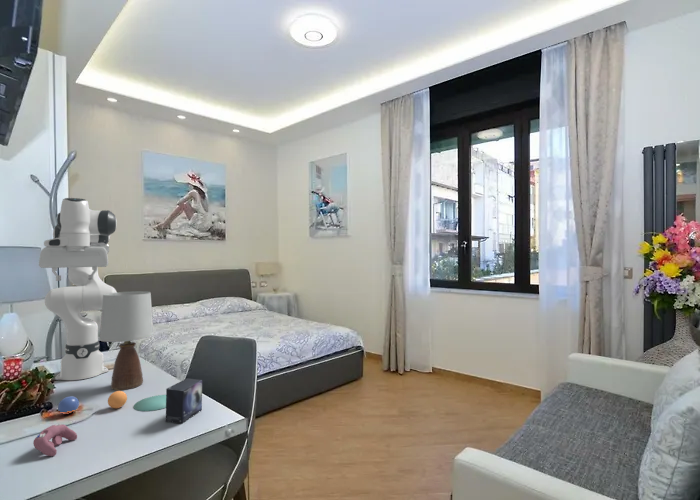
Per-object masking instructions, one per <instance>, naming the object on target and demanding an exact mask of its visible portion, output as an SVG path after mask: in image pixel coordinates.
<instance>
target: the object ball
mask: <svg viewBox="0 0 700 500" xmlns="http://www.w3.org/2000/svg"><path fill="white" fill-rule="evenodd" d="M127 400H128V395H127V393H125V391H124V390H123V391H122V390H115V391H114V392H112V393H111V394H110V395H109V396H108V398H107V403H108V406H109V407H110V408H112V409H120V408H121V407H123V406H124V405H125V404H126V403H127Z"/></svg>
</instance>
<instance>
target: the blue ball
mask: <svg viewBox="0 0 700 500" xmlns="http://www.w3.org/2000/svg"><path fill="white" fill-rule="evenodd" d="M79 406H80V401H79V399H78V398H77V397H76V396H73V395H71V396H65V397H64V398H62V399H61V400H59V403H58V405H57V410H58V412H59V411H60V412H67V411H72V410H76V409H79ZM76 411H77V410H76ZM60 412H59V413H60Z"/></svg>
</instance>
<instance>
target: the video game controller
mask: <svg viewBox="0 0 700 500" xmlns="http://www.w3.org/2000/svg"><path fill="white" fill-rule="evenodd" d="M63 438H64V439H66V440H68V441H75V440H77V439H78V434H77V432H76V431H74V430H73V429H71V428H70V427H68V426H67V425H66V424H64V423H61V422H59V423H56V424H54V425H53V424H52V425H50V426H48V427H46V428H44V429H43V430H42V431H41V432H39V434H38V435H37V436H36V437H35V438H34V439H33V447H34V448H35V449H36V450H38V451H39V452H40V453H42V454H43V455H46V456H47V457H55V456H56V455H57V449H56V447H58V446H60V445H61V444H62V443H63Z"/></svg>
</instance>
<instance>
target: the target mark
mask: <svg viewBox="0 0 700 500" xmlns="http://www.w3.org/2000/svg"><path fill="white" fill-rule="evenodd" d="M133 409H134V410H136V411H140V412H153V411H159V410H160V411H161V410H163V409H166V394H161V395H159V394H158V395H154V396H149V397H146V398H142V399H140V400H138V401H137V402H136V403H134V405H133Z"/></svg>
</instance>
